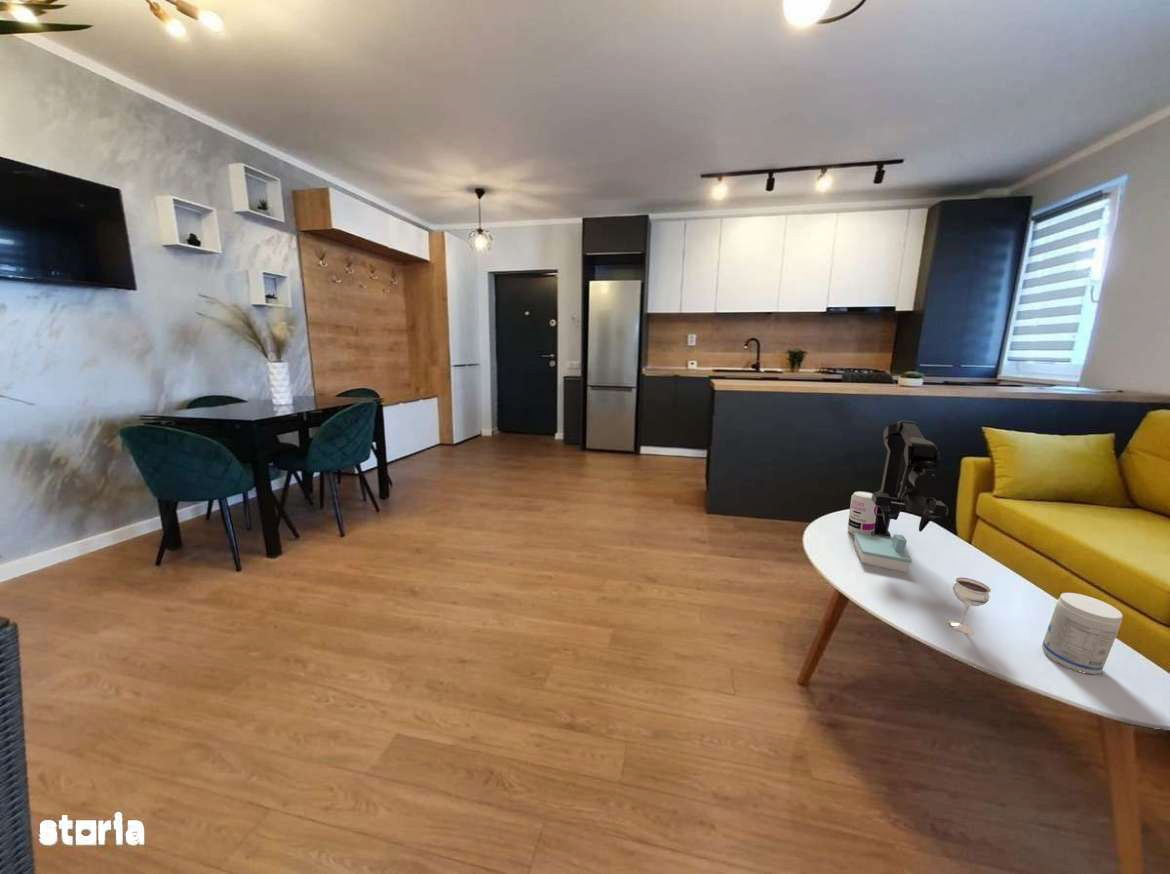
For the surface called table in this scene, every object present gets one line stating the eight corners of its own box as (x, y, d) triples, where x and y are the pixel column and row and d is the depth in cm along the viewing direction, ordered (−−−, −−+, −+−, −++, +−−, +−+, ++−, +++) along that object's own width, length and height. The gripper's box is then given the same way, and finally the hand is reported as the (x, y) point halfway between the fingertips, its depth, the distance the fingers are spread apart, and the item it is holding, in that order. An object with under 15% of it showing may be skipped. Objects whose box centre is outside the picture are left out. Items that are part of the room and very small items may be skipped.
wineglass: (937, 617, 113) (948, 576, 110) (963, 618, 113) (975, 577, 110) (957, 635, 107) (970, 592, 104) (986, 636, 106) (999, 593, 104)
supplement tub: (1043, 639, 106) (1061, 586, 103) (1102, 663, 99) (1124, 606, 96) (1038, 657, 100) (1057, 601, 97) (1100, 683, 93) (1124, 624, 90)
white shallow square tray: (853, 545, 151) (855, 536, 150) (894, 553, 146) (896, 543, 146) (861, 563, 139) (864, 553, 138) (906, 572, 135) (908, 562, 134)
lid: (853, 537, 151) (856, 522, 149) (897, 545, 146) (901, 529, 145) (862, 556, 138) (865, 539, 136) (910, 565, 133) (915, 548, 132)
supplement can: (873, 531, 161) (878, 493, 158) (873, 540, 154) (878, 500, 151) (847, 527, 165) (852, 489, 162) (846, 535, 158) (851, 496, 155)
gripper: (885, 485, 130) (874, 533, 134) (961, 496, 124) (948, 545, 128) (876, 474, 140) (866, 519, 144) (946, 483, 134) (934, 530, 138)
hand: (902, 528), depth 138 cm, fingers open, 9 cm apart
